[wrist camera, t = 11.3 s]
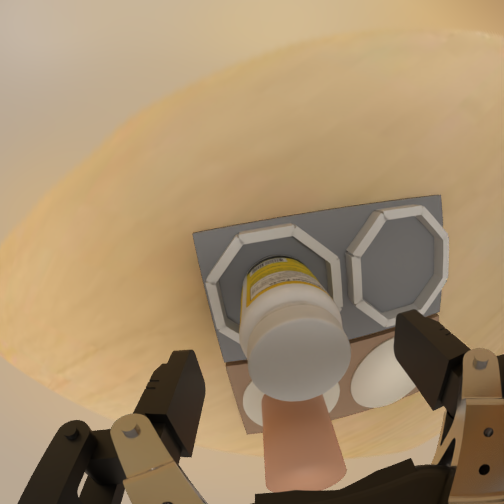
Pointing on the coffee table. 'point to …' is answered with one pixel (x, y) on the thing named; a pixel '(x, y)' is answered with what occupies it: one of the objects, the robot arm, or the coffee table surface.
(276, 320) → the supplement bottle
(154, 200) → the coffee table surface
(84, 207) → the coffee table surface
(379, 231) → the board
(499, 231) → the coffee table surface
